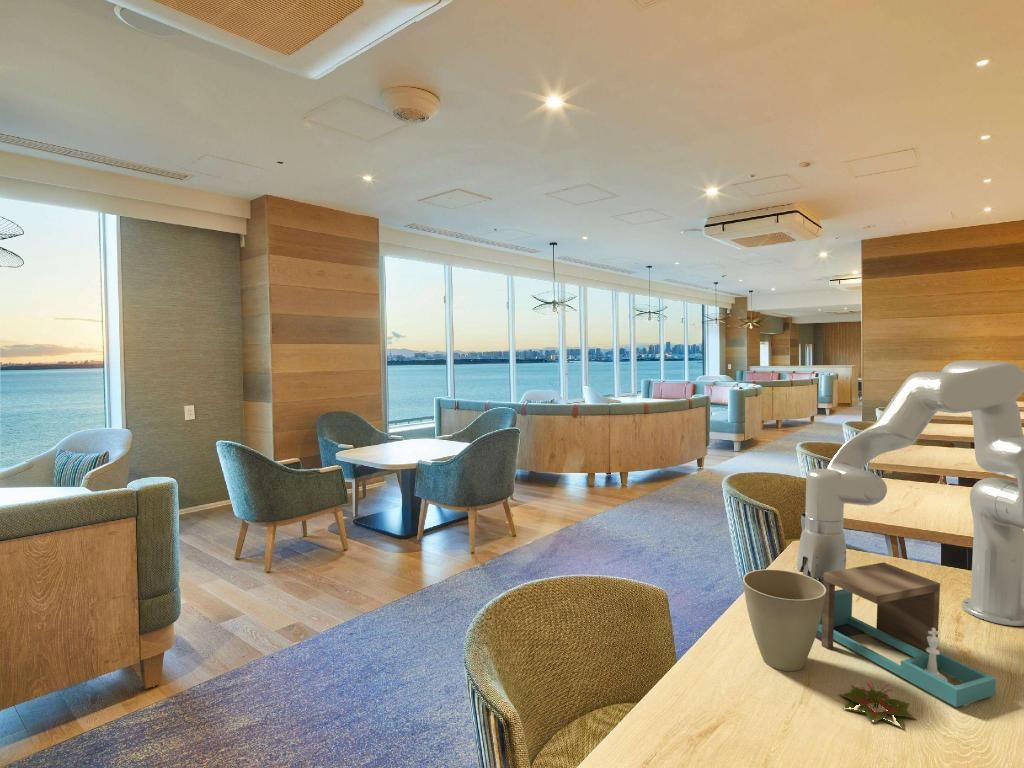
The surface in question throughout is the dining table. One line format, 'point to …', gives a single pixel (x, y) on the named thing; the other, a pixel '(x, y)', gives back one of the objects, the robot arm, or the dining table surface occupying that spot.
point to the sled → (914, 660)
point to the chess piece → (933, 654)
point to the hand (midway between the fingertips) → (821, 604)
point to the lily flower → (877, 699)
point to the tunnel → (885, 603)
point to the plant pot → (784, 615)
